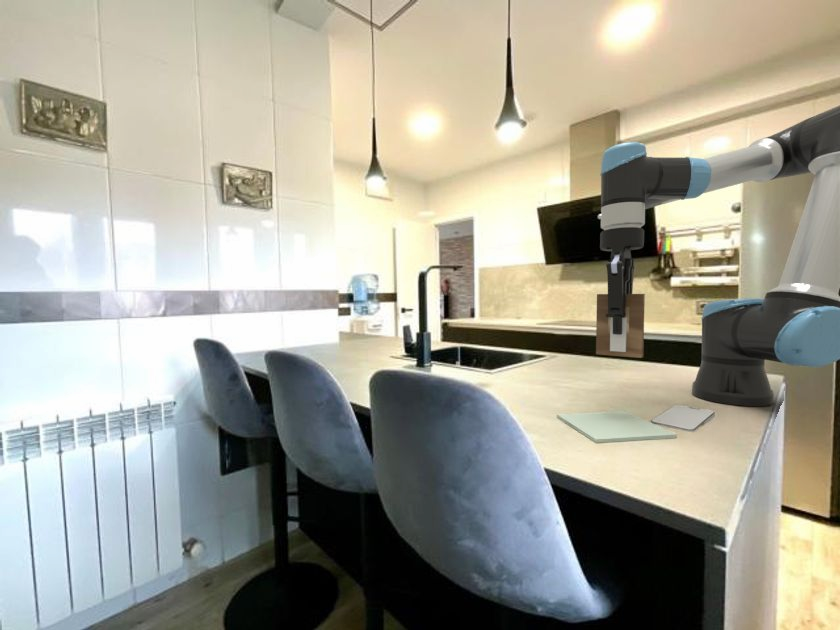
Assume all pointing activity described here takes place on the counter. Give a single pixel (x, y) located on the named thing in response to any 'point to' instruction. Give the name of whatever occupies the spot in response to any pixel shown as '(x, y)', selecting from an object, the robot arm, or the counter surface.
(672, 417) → the smartphone
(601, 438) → the mat
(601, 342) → the board
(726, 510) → the counter surface
